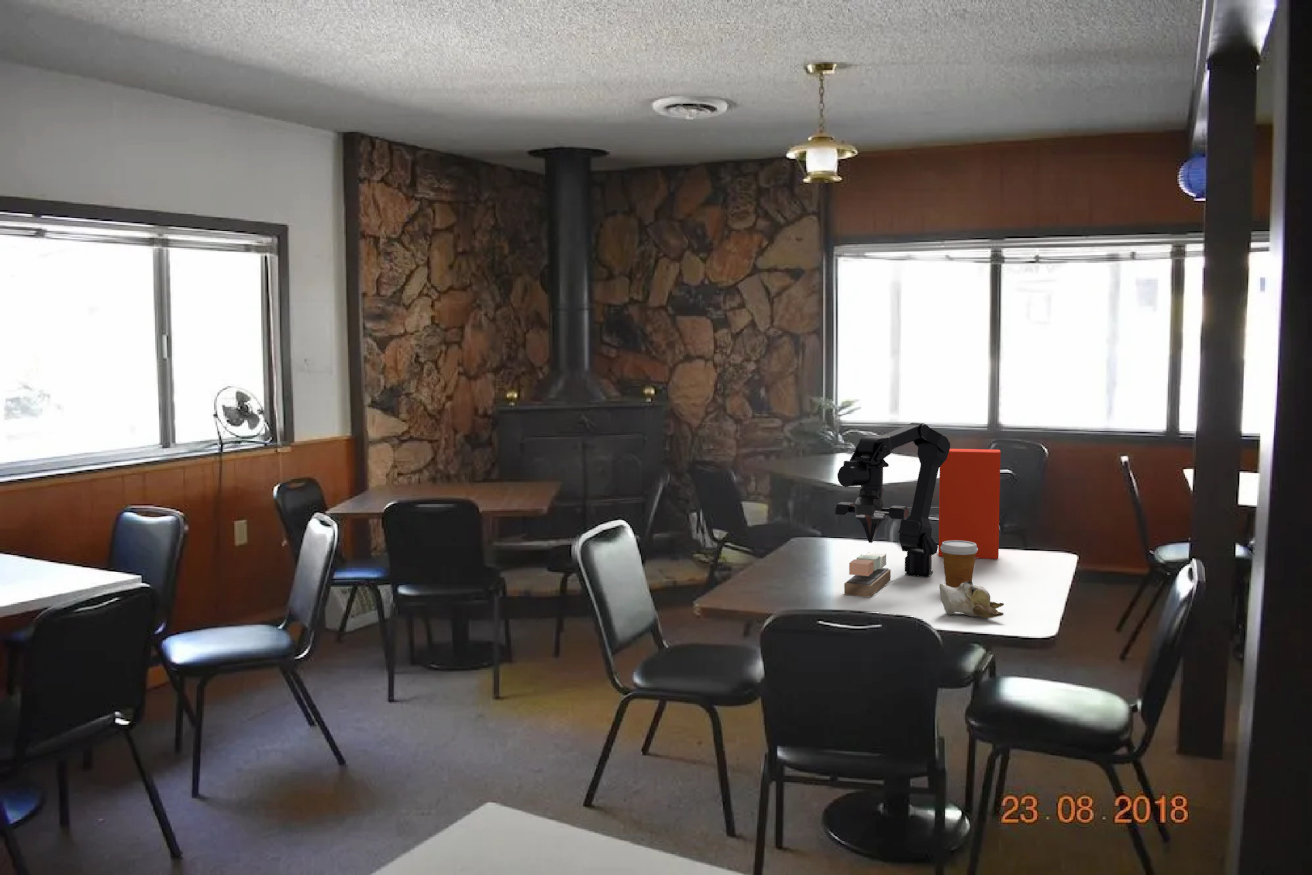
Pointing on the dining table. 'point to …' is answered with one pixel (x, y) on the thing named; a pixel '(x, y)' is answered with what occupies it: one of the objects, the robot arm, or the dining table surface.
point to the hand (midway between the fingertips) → (870, 542)
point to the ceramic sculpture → (969, 600)
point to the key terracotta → (861, 567)
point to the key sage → (871, 558)
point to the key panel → (867, 583)
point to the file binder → (970, 499)
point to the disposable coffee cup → (958, 561)
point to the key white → (882, 558)
